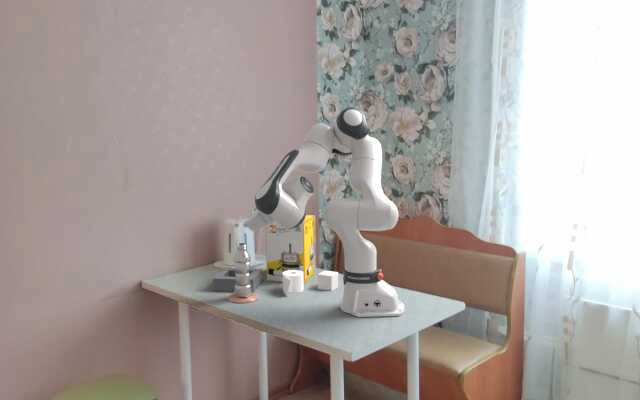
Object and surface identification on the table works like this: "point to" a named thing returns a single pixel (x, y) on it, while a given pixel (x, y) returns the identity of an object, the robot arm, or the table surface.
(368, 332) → the table surface
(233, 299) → the terracotta coaster
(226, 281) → the charcoal collar
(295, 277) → the toilet paper
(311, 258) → the packaging box
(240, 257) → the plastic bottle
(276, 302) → the table surface
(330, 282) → the white cube
